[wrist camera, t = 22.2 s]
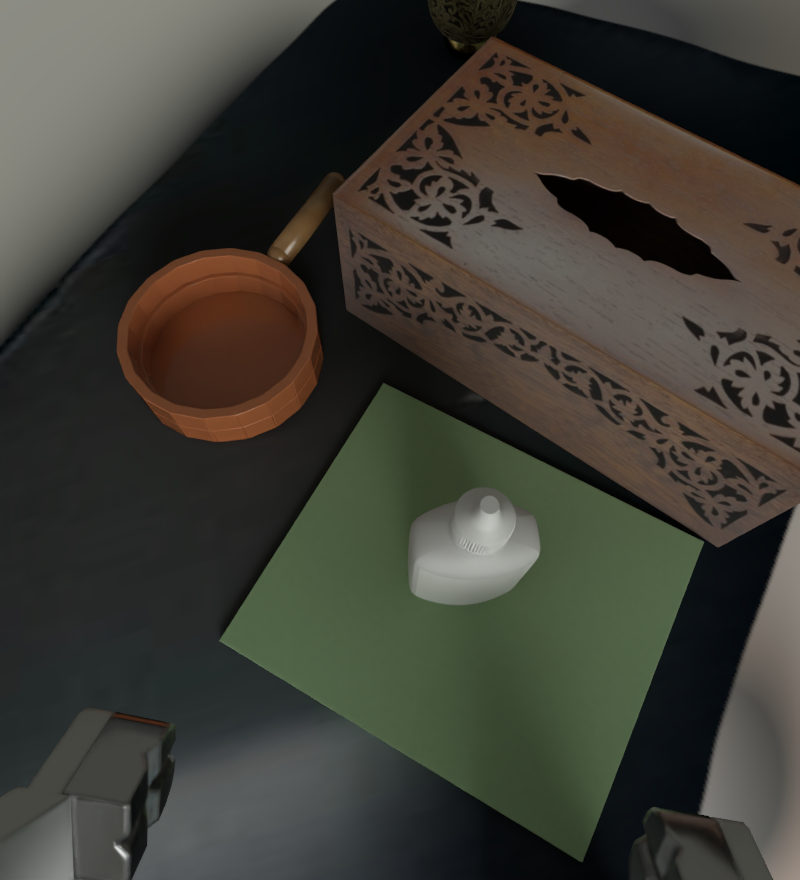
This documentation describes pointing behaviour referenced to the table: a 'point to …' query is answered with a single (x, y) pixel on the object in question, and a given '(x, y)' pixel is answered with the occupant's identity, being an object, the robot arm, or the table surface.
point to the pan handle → (306, 220)
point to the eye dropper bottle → (471, 549)
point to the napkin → (473, 619)
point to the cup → (469, 22)
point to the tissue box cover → (592, 282)
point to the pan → (221, 344)
